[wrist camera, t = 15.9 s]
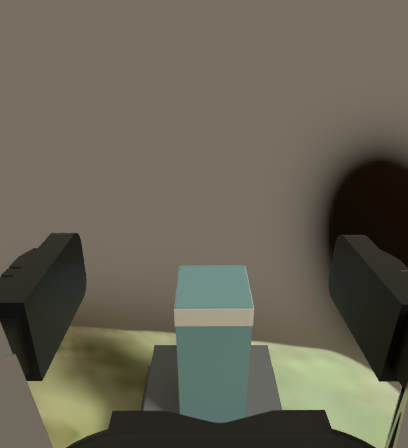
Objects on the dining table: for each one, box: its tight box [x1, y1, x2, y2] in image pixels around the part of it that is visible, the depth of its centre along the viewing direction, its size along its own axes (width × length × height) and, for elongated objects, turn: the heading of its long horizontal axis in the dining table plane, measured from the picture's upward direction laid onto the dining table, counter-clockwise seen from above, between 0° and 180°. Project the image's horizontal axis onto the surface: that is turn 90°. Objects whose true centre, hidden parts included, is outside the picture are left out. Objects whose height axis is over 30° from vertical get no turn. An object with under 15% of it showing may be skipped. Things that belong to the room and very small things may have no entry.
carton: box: [174, 265, 254, 422], centre depth 27 cm, size 5×5×11 cm
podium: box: [141, 345, 282, 423], centre depth 31 cm, size 13×13×5 cm
